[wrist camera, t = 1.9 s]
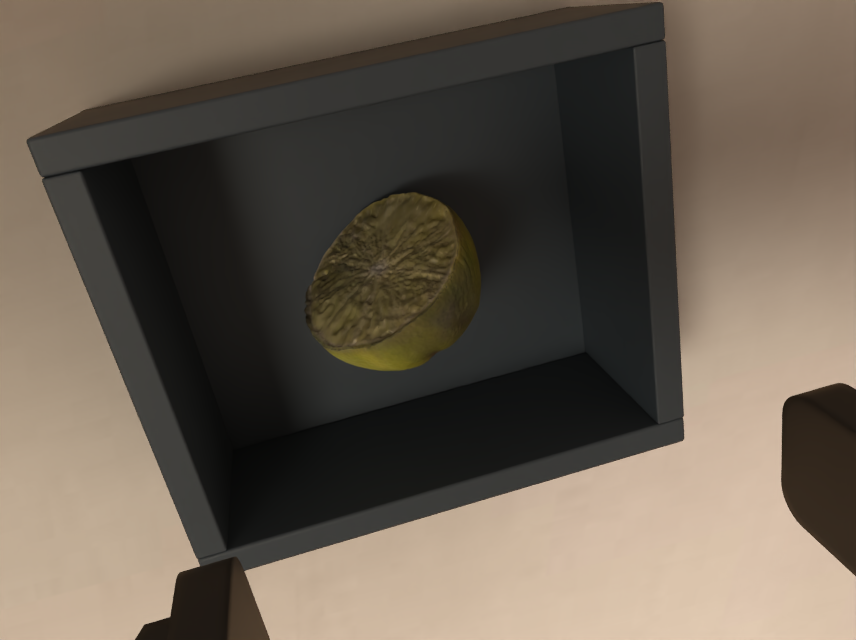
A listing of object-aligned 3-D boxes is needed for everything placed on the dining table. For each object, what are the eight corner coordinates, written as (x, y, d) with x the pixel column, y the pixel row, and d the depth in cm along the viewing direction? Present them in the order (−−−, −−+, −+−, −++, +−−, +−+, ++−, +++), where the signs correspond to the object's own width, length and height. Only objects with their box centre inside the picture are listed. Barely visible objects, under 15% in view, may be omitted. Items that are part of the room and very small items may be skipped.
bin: (82, 110, 19) (23, 139, 14) (570, 6, 21) (665, 1, 16) (216, 470, 24) (206, 583, 19) (604, 362, 25) (685, 441, 21)
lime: (294, 320, 22) (304, 397, 18) (324, 162, 21) (344, 202, 16) (433, 340, 23) (476, 416, 19) (472, 193, 22) (528, 238, 17)
